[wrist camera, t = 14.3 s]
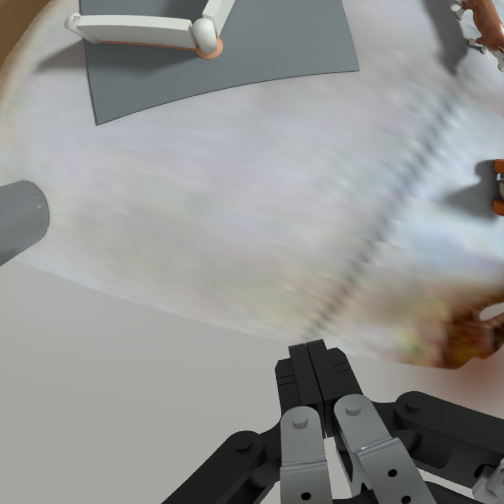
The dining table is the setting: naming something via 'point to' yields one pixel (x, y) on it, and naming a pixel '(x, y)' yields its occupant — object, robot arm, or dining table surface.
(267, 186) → the dining table surface
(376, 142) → the dining table surface
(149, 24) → the fence fixed
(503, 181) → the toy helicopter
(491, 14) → the bull figurine
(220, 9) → the fence gate
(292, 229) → the dining table surface
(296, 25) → the card
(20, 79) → the dining table surface
